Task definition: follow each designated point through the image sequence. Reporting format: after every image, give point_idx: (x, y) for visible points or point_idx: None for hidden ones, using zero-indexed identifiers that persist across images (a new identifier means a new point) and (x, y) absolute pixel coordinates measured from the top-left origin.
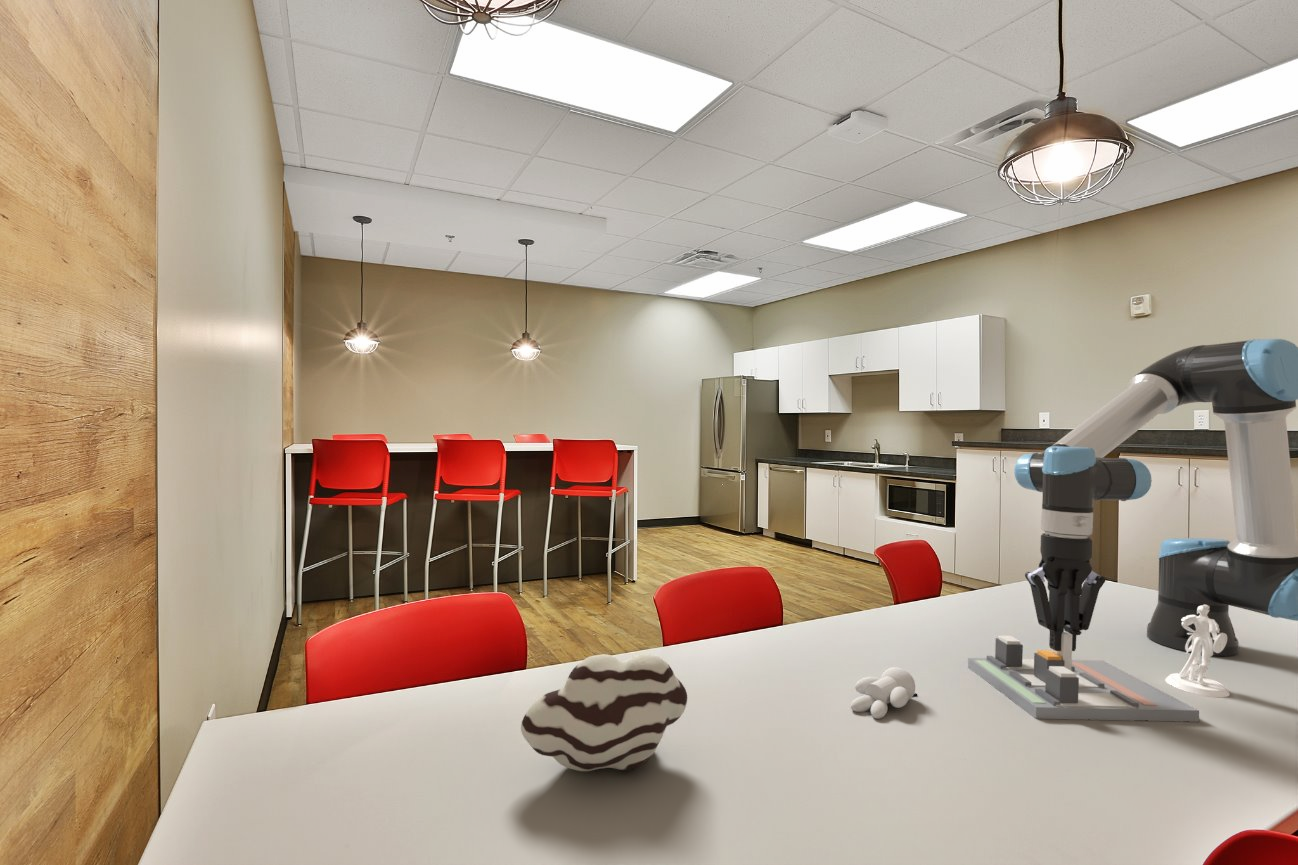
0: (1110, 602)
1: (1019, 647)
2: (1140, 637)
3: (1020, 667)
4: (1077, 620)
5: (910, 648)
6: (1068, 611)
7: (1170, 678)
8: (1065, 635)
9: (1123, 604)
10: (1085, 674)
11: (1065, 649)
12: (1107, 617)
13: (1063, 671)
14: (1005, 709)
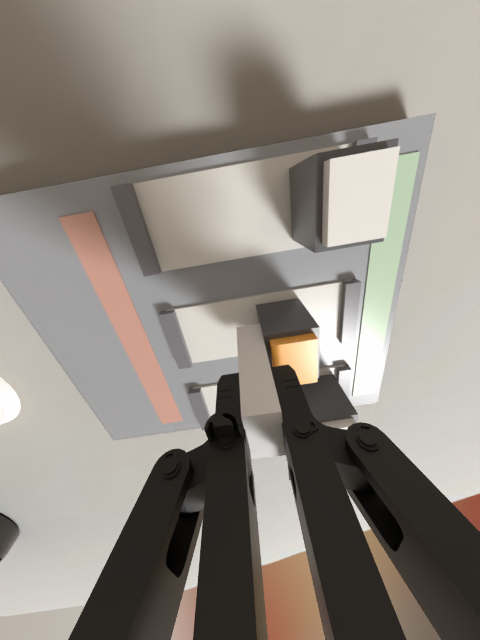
0: (46, 591)
1: (320, 413)
2: (29, 528)
3: None
4: (212, 503)
5: (414, 436)
6: (258, 580)
7: (5, 406)
8: (274, 407)
9: (32, 590)
10: (181, 360)
11: (262, 365)
12: (60, 563)
13: (369, 178)
14: (447, 178)
